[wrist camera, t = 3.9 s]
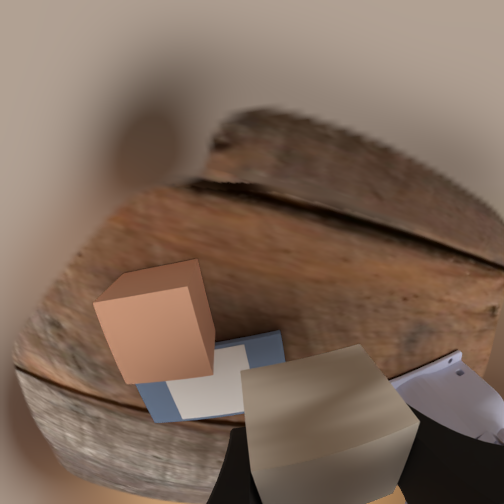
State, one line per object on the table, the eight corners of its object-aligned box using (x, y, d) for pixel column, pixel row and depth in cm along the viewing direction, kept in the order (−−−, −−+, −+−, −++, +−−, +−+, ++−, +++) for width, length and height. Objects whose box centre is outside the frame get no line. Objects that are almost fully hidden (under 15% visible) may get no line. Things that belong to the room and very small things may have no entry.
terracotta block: (197, 258, 16) (187, 286, 12) (215, 330, 17) (213, 374, 13) (123, 273, 16) (92, 302, 11) (145, 340, 17) (126, 384, 13)
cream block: (359, 343, 10) (420, 421, 6) (355, 421, 11) (392, 493, 7) (240, 370, 10) (250, 471, 6) (258, 444, 11) (271, 527, 7)
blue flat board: (279, 329, 17) (281, 333, 17) (290, 400, 19) (292, 404, 18) (125, 354, 17) (123, 358, 16) (155, 419, 18) (155, 423, 18)
